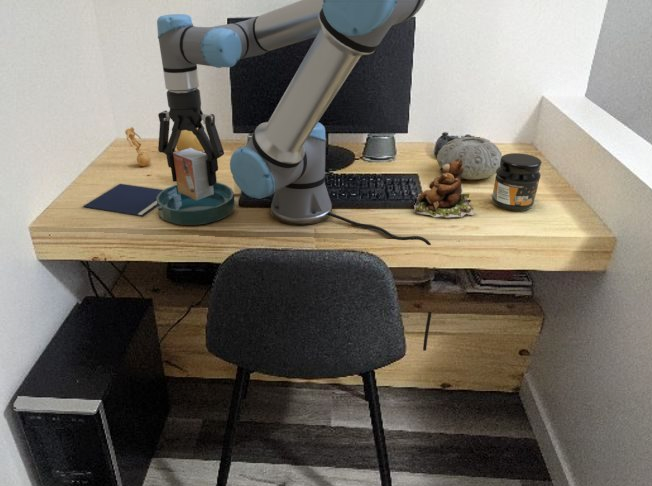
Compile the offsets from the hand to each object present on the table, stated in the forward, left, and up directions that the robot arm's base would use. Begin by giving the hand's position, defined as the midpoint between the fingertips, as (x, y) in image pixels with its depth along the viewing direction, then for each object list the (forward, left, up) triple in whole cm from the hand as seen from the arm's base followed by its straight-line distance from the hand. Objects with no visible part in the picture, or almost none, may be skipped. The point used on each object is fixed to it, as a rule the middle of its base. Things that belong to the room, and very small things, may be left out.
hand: (194, 181), depth 137 cm
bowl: (0, 0, -8) cm, 8 cm away
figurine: (+32, -23, -8) cm, 41 cm away
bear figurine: (-59, -21, -8) cm, 63 cm away
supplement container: (-76, -29, -8) cm, 81 cm away
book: (+20, 0, -8) cm, 22 cm away
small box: (0, 0, -3) cm, 3 cm away
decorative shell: (-63, -47, -8) cm, 79 cm away
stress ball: (+22, -37, -8) cm, 44 cm away
